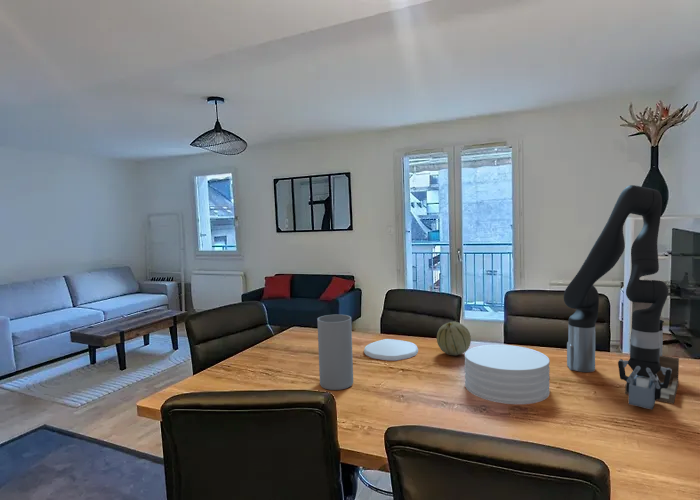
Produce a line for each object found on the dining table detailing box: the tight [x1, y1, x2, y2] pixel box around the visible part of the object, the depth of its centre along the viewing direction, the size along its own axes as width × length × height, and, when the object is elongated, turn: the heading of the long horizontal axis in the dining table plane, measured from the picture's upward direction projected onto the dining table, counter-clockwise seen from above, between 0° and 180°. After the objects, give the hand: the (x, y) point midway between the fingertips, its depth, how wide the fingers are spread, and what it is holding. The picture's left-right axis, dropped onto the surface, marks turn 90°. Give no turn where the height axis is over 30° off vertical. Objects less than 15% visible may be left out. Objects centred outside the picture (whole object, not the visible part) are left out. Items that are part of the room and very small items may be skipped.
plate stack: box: [464, 344, 551, 405], centre depth 151 cm, size 28×28×12 cm
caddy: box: [628, 374, 657, 410], centre depth 133 cm, size 12×6×8 cm, turn 138°
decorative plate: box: [363, 338, 419, 361], centre depth 197 cm, size 25×4×25 cm
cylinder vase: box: [316, 314, 354, 391], centre depth 158 cm, size 12×12×25 cm
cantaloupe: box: [436, 321, 472, 356], centre depth 188 cm, size 15×15×15 cm
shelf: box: [624, 355, 680, 405], centre depth 145 cm, size 20×13×9 cm, turn 139°
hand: (643, 396), depth 133 cm, fingers closed on caddy, 6 cm apart
